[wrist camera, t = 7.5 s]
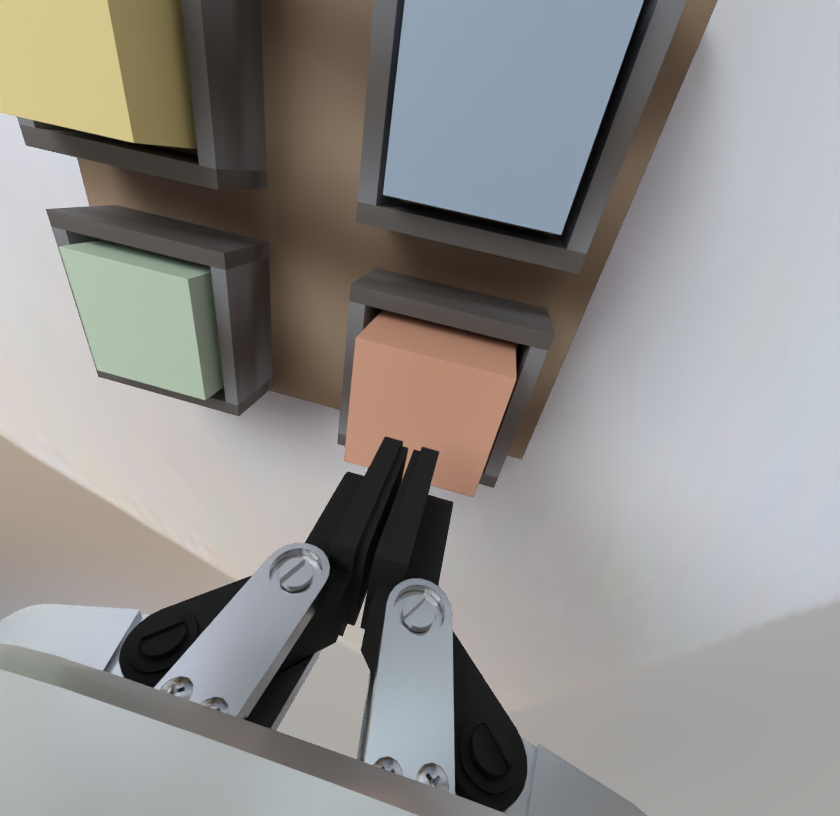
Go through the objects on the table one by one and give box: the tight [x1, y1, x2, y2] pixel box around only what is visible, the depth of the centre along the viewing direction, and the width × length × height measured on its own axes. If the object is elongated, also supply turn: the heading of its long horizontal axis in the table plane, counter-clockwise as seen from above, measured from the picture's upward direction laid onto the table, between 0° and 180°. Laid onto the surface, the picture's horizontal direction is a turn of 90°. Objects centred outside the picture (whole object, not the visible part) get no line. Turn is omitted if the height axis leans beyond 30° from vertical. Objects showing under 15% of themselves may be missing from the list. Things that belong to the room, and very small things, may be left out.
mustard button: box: [0, 0, 197, 149], centre depth 11 cm, size 5×5×3 cm
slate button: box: [383, 0, 644, 235], centre depth 11 cm, size 5×5×3 cm
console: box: [17, 0, 718, 488], centre depth 15 cm, size 17×22×5 cm
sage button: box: [59, 240, 224, 400], centre depth 17 cm, size 5×5×3 cm
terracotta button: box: [344, 310, 516, 497], centre depth 15 cm, size 5×5×3 cm
